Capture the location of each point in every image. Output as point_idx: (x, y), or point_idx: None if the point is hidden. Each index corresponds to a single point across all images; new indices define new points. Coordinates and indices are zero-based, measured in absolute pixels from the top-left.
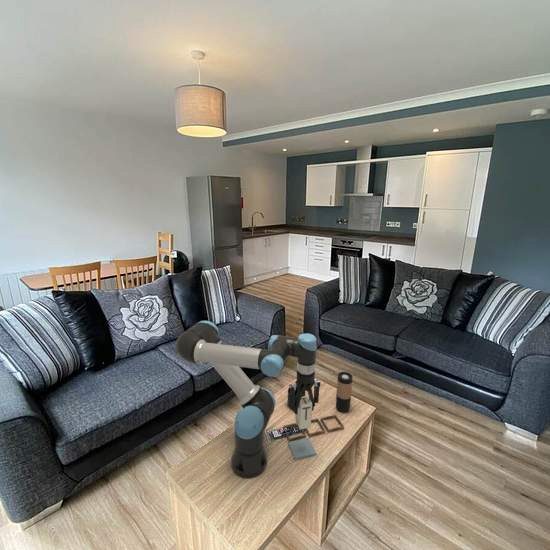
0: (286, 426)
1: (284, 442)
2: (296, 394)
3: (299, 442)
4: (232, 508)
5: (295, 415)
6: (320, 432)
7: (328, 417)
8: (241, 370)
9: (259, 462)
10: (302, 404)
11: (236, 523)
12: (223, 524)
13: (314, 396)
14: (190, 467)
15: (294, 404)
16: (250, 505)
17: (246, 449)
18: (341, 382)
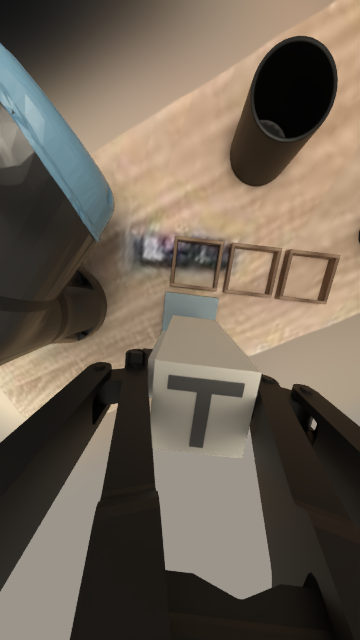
0: (183, 240)
1: (160, 283)
2: (113, 433)
3: (190, 302)
4: (27, 374)
5: (160, 334)
6: (256, 295)
7: (313, 255)
8: None
9: (67, 341)
10: (163, 442)
11: (31, 396)
12: (12, 390)
13: (314, 417)
14: None
15: (114, 399)
16: (56, 381)
17: None
18: None
